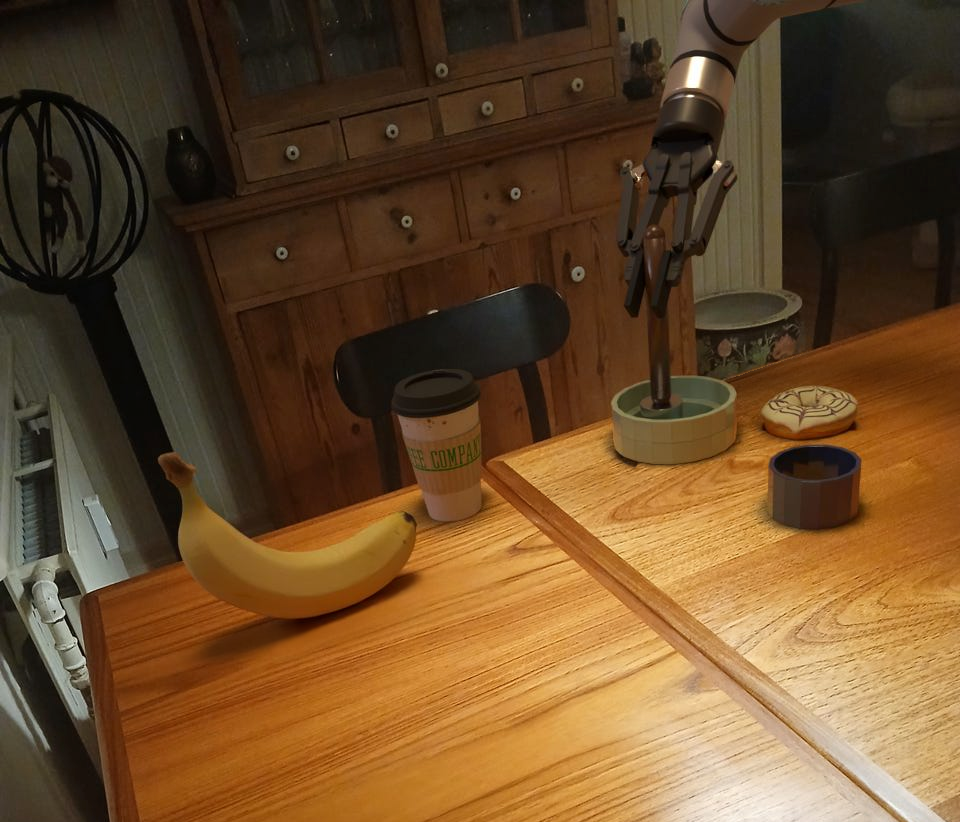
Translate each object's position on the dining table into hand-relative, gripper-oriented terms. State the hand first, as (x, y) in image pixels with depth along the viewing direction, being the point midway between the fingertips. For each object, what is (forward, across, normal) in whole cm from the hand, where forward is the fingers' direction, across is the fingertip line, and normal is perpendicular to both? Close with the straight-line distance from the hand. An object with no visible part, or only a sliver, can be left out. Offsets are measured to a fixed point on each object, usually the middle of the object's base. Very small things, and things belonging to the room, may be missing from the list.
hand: (644, 311), depth 108 cm
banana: (+41, +19, +17) cm, 48 cm away
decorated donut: (+4, -16, -20) cm, 26 cm away
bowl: (+10, -2, -15) cm, 18 cm away
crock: (+20, -22, -5) cm, 29 cm away
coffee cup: (+25, +17, +1) cm, 30 cm away
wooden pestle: (+7, 0, -13) cm, 15 cm away
